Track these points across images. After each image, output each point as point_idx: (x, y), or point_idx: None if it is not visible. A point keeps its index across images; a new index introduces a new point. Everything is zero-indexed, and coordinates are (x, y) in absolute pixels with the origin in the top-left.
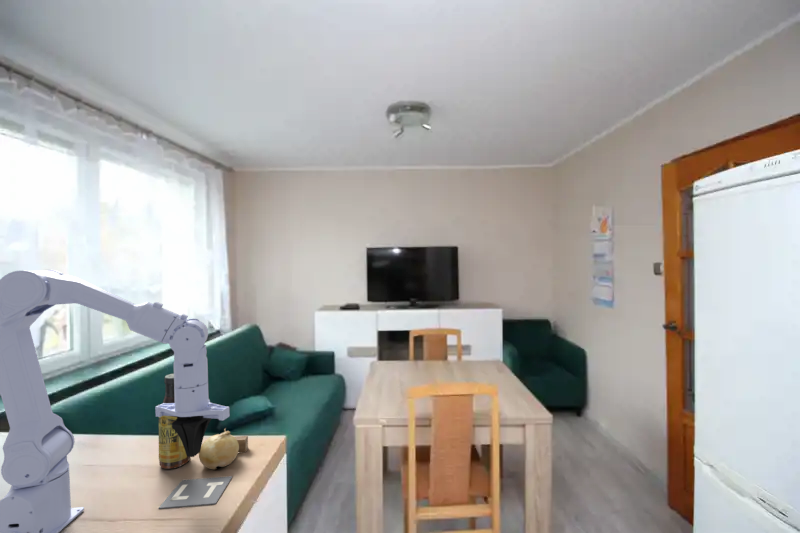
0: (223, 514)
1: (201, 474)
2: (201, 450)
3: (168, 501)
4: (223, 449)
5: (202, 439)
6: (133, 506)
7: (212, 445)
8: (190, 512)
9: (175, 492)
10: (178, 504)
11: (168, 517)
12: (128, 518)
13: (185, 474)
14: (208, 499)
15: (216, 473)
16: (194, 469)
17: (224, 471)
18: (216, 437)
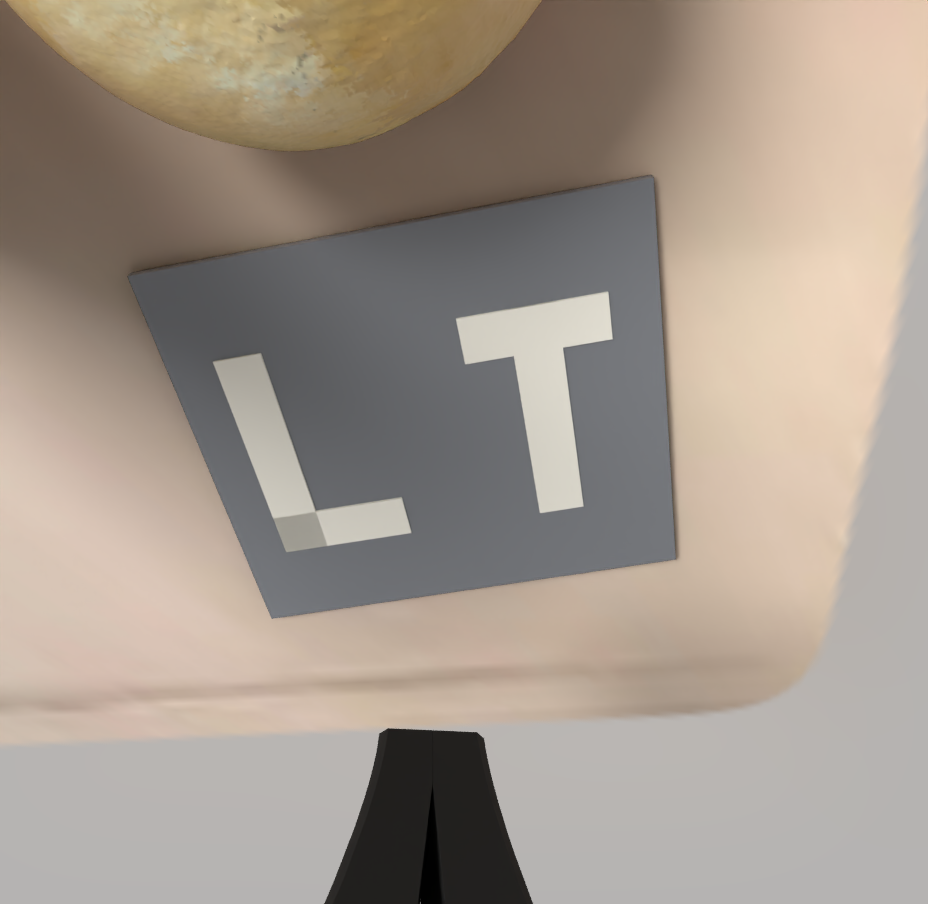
0: (776, 631)
1: None
2: (86, 73)
3: (284, 559)
4: (476, 32)
5: (523, 893)
6: (54, 598)
7: (264, 60)
8: (532, 627)
9: (242, 461)
10: (392, 583)
11: (413, 669)
12: (152, 687)
13: (51, 142)
14: (596, 528)
15: None
16: None
17: None
18: None
